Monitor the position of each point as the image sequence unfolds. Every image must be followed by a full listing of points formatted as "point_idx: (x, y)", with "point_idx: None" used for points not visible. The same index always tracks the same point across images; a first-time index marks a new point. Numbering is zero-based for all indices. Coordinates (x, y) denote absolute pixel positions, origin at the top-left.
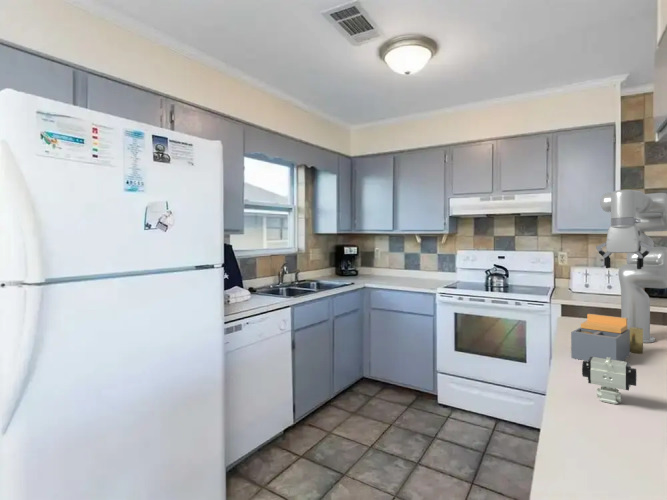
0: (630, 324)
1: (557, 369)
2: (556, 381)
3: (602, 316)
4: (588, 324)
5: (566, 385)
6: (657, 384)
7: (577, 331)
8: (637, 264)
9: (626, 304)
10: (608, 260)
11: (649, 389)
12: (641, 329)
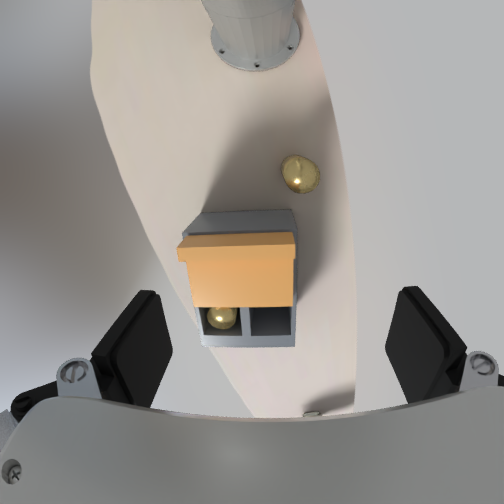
0: (248, 47)
1: (228, 373)
2: (249, 404)
3: (224, 260)
4: (212, 305)
5: (263, 408)
6: (352, 347)
7: (201, 319)
8: (399, 374)
9: (227, 18)
10: (148, 391)
11: (344, 368)
12: (317, 181)
